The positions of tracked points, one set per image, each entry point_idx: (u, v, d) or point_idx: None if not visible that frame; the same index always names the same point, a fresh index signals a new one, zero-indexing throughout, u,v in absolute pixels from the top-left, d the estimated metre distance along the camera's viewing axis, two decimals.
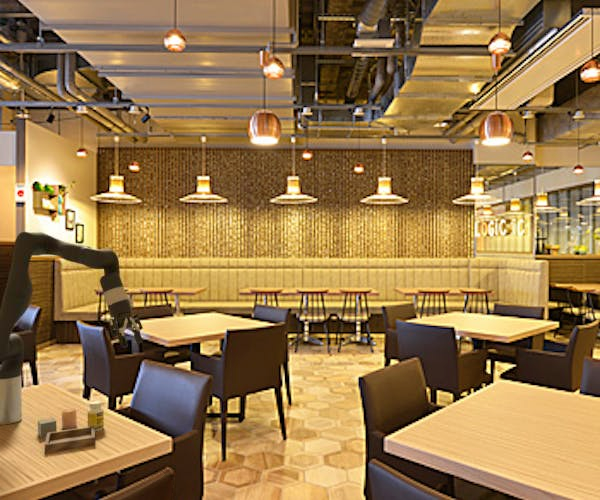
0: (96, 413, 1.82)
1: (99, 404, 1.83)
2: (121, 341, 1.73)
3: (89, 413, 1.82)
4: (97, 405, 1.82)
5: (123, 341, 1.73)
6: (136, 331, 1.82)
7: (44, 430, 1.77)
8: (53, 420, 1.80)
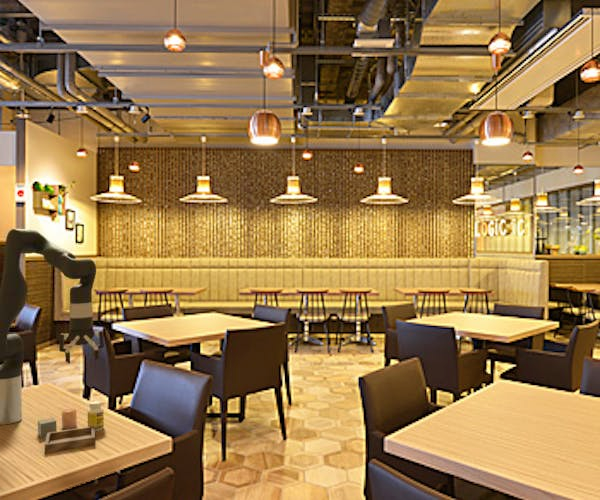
0: (96, 413, 1.82)
1: (99, 404, 1.83)
2: None
3: (89, 413, 1.82)
4: (97, 405, 1.82)
5: (66, 357, 1.74)
6: (94, 348, 1.78)
7: (44, 430, 1.77)
8: (53, 420, 1.80)
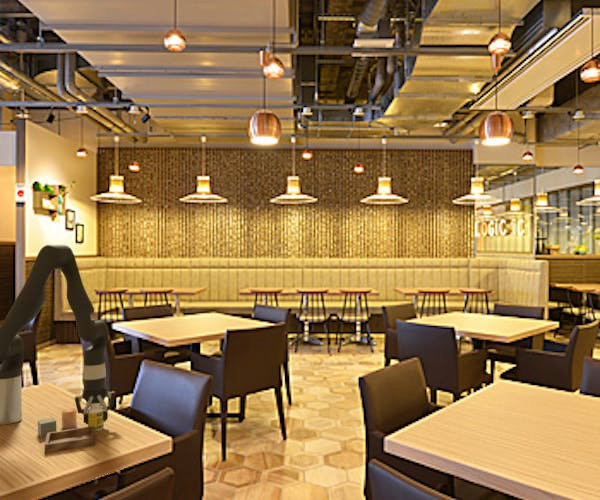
0: (96, 413, 1.82)
1: (99, 404, 1.83)
2: None
3: (89, 413, 1.82)
4: (97, 405, 1.82)
5: (84, 419, 1.82)
6: None
7: (44, 430, 1.77)
8: (53, 420, 1.80)
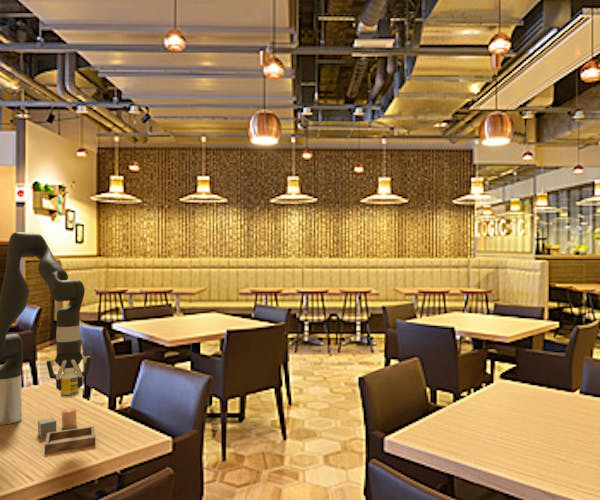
0: (70, 379, 1.68)
1: (73, 369, 1.70)
2: (56, 383, 1.69)
3: (62, 378, 1.68)
4: (71, 370, 1.69)
5: (57, 384, 1.69)
6: (78, 375, 1.71)
7: (44, 430, 1.77)
8: (53, 420, 1.80)
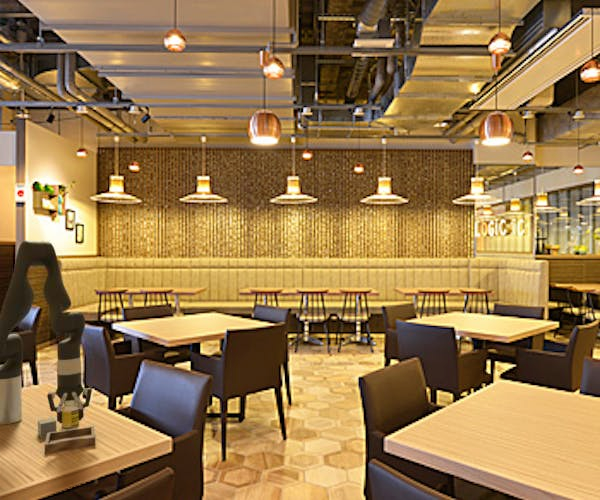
0: (71, 411, 1.68)
1: (74, 401, 1.70)
2: (57, 416, 1.69)
3: (63, 411, 1.68)
4: (72, 402, 1.69)
5: (58, 417, 1.69)
6: (79, 407, 1.71)
7: (44, 430, 1.77)
8: (53, 420, 1.80)
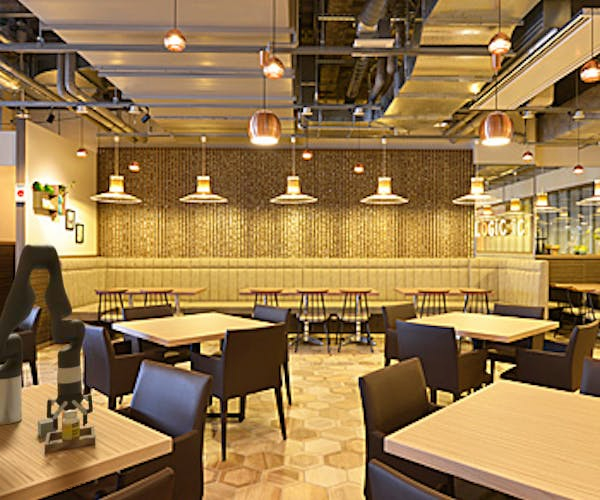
0: (71, 424, 1.68)
1: (74, 414, 1.70)
2: (53, 423, 1.68)
3: (63, 423, 1.68)
4: (72, 415, 1.69)
5: (54, 424, 1.68)
6: (83, 413, 1.72)
7: (44, 430, 1.77)
8: None
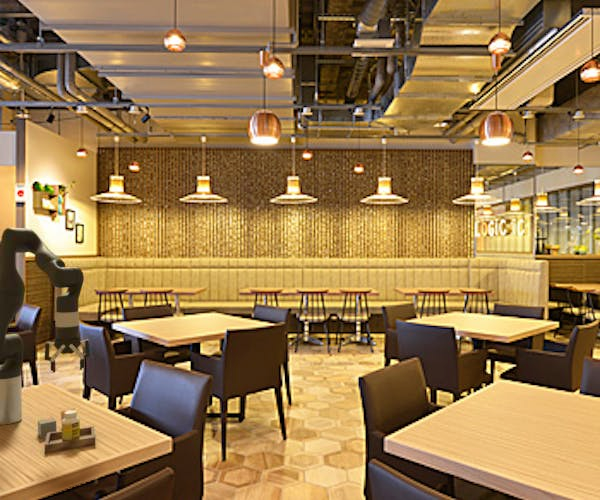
0: (71, 424, 1.68)
1: (74, 414, 1.70)
2: None
3: (63, 423, 1.68)
4: (72, 415, 1.69)
5: (51, 366, 1.73)
6: (80, 357, 1.77)
7: (44, 430, 1.77)
8: (53, 420, 1.80)
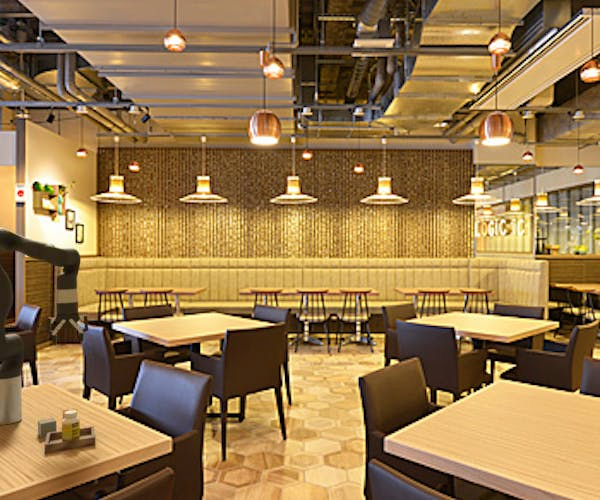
0: (71, 424, 1.68)
1: (74, 414, 1.70)
2: None
3: (63, 423, 1.68)
4: (72, 415, 1.69)
5: (53, 340, 1.88)
6: (79, 331, 1.92)
7: (44, 430, 1.77)
8: (53, 420, 1.80)
